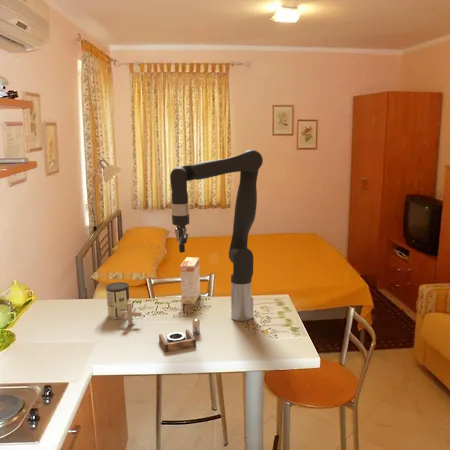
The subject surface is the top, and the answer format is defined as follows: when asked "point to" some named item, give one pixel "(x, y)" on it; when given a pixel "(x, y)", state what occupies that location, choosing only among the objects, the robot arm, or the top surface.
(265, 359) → the top surface
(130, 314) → the pipe connector
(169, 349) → the groove block
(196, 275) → the coffeecake box
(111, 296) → the coffee can
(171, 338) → the metal ring
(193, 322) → the beige rounded cylinder
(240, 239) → the robot arm
